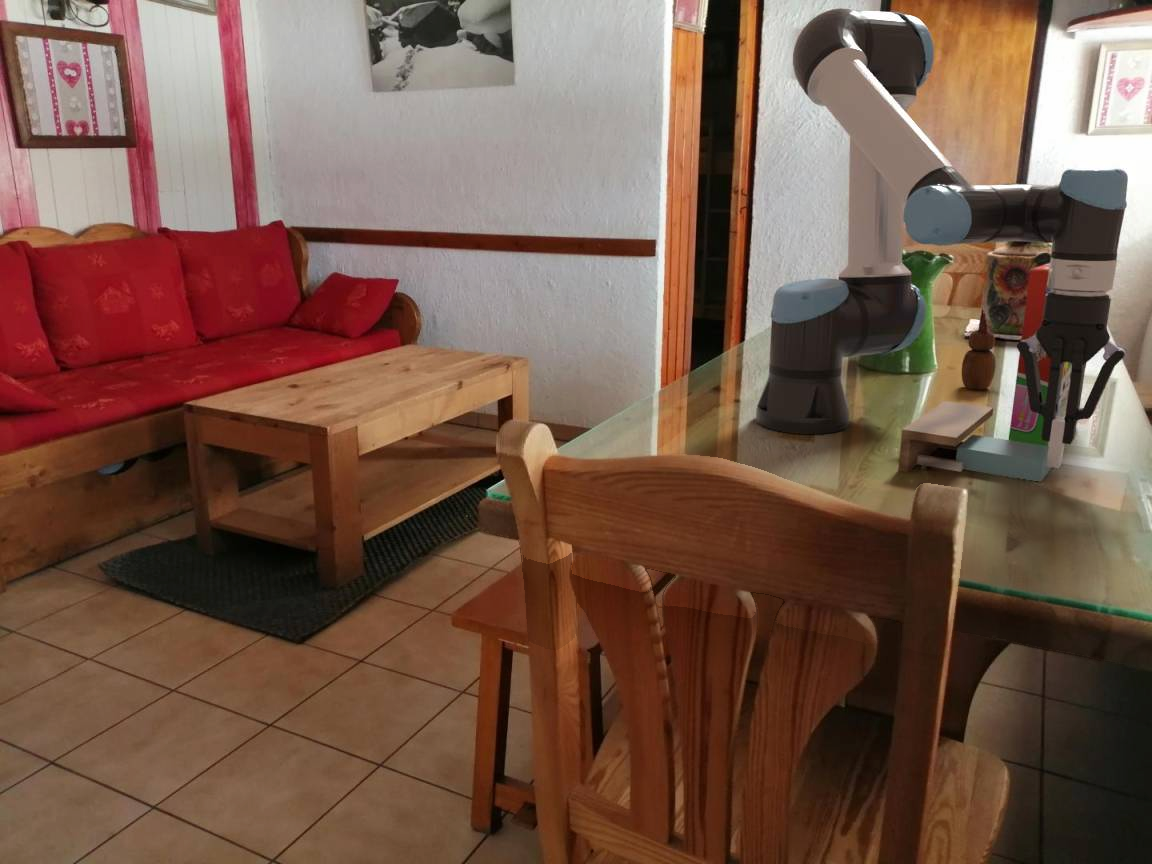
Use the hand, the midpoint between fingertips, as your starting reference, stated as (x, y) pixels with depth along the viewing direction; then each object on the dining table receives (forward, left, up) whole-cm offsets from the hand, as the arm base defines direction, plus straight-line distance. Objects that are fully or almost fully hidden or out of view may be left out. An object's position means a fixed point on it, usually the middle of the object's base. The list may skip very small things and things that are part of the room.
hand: (1053, 464), depth 124 cm
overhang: (-14, 0, -2) cm, 14 cm away
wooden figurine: (-22, +49, -2) cm, 54 cm away
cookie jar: (-30, +118, -2) cm, 122 cm away
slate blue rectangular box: (-6, 0, -2) cm, 6 cm away
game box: (-5, +19, -2) cm, 20 cm away
